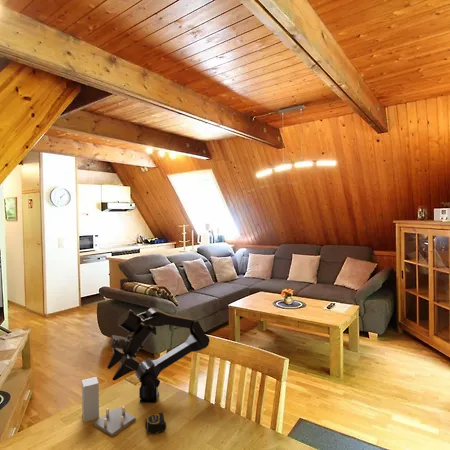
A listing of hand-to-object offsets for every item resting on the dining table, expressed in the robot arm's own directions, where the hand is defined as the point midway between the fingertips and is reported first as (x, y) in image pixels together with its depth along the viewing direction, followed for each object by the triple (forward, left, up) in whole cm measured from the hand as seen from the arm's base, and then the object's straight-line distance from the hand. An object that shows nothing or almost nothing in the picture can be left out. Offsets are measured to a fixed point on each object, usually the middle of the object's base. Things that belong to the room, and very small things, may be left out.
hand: (110, 374), depth 120 cm
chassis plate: (-4, +7, -14) cm, 16 cm away
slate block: (+6, +3, -14) cm, 16 cm away
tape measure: (-19, +9, -14) cm, 26 cm away
